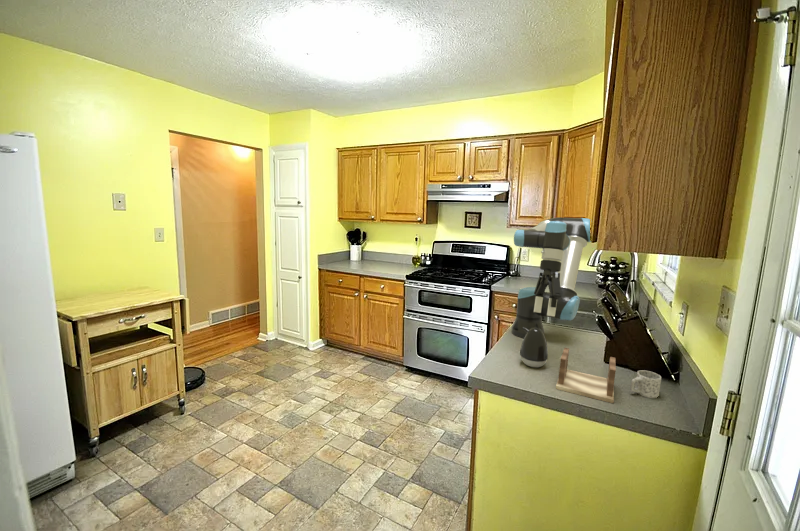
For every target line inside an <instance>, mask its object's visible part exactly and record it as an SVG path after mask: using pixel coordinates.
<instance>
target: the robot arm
mask: <svg viewBox="0 0 800 531" xmlns="http://www.w3.org/2000/svg"><path fill="white" fill-rule="evenodd" d="M590 220H591V219H590V218H583V217H553V218H548V219H545V220H542V221H540V222H538V223H537V225H536V226H533V227H530V228H529V229H517V230H516V231H515V232H514V235H513V243H514V246H515V247H520V248H530V249H531V248H533V249H542V250H541V251H540V253H541V261H540V265H539V269H540V270H542V271H543V272H539V275H538V279H537V283H536V286H531V287H522V288H521V289H519V290H518V294H517V304H516V315H515V316H516V317H515V319H514V322H513V324H512V327H511V334H513V335H514V336H517V337H519V338H522V339H524V337H525V336H526V334H527V332H525V331H524V330H523V329H522V328H523V327H525V328H527V329H528V330H530V329H531V328H534V327H536V328H539V329H541V330H542V332H543V334H544V335H545V329H544V326H543V322H542V320H543V319H542V318H543V317H546V318H551V319H557V320H560V321H572V320H574V319H575V317H576V316H577V313H578V311H579V307H580V301H581V298H580V297H579V296H578V292H577V291H576V290H575V288H576V284H577V279H578V278H577V277H578V275H579V274H578V273H579V268H580V264H581V260H582V259H581V258H582V255H583V248H586V246H587V245H588V243H592V241H590ZM547 288H548V291H546V290H547Z"/></svg>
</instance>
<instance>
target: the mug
mask: <svg viewBox="0 0 800 531" xmlns="http://www.w3.org/2000/svg"><path fill="white" fill-rule="evenodd" d="M661 383H662V376H661V375H660V374H658V373H656V372H653V371H650V370H645V369H644V370H641V369H640V370H637V373H636V377H634V378H632V379H631V380H630V385H629V386H630V387H629V388H630V392H632V393H637V395H640V396H641V397H646V398H649V399H657V397H658V396H660V389H661ZM658 398H659V397H658Z"/></svg>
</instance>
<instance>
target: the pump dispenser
mask: <svg viewBox="0 0 800 531" xmlns="http://www.w3.org/2000/svg"><path fill="white" fill-rule="evenodd" d="M522 329H523V330H524V331H525V332H527V334H526V336H525V337H524V338H523V340H522V342H521V343H522V344H521V347H520V352H519V355H520V358H521V361H522V362H523V363H524V365H526V366H528V367H531V368H540V367H543V366H545V364H546V362H547V360H548V357H549V354H548V353H549V352H548V344H547V340H546V337H545V333H544V334H543V332H542V330H541V329H539V328H536V327H534V328H531V329H530V330H528V329H527V328H525V327H523V328H522Z"/></svg>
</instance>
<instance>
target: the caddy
mask: <svg viewBox="0 0 800 531" xmlns="http://www.w3.org/2000/svg"><path fill="white" fill-rule="evenodd" d="M569 355H570V348H568V347H564V348H563V351H562V354H561V356H560V361H559V368H558V369H559V370H558V378H557V381H556V384H555V390H558V391H562V392H567V393H571V394H575V395H578V396H579V395H580V396H583V397H587V398H591V399H594V400H599V401H603V402H606V403H611V404H614V402H615V401H614V400H615V397H614V396H615V395H614V394H615V393H614V392H615V379H616V378H615V377H616V370H617V369H616V365H617V364H616V357H613V356H610V357H609V363H608V370H607V377H603V376H599V375H595V374H589V373H585V372H582V371H581V372H580V371H576V370H571V369H568V365H569V357H570V356H569Z"/></svg>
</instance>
